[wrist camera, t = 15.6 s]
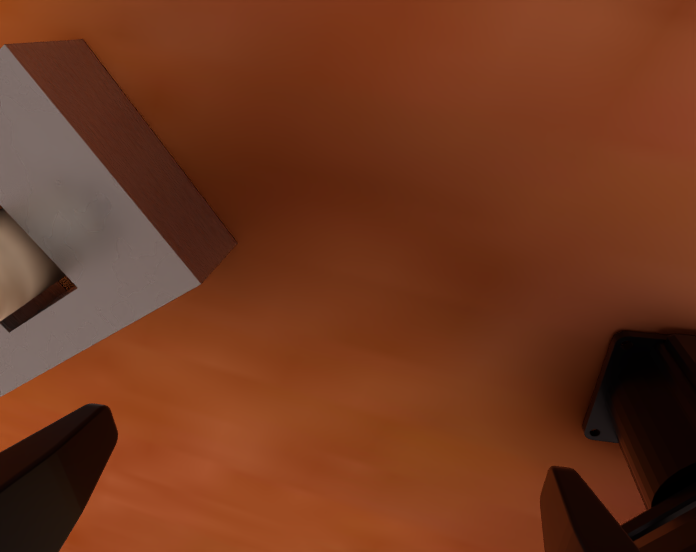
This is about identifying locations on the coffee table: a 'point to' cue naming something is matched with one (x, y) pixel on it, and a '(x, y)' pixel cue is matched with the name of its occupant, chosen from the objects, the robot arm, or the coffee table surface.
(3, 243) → the pin
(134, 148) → the socket block
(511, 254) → the coffee table surface
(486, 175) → the coffee table surface
